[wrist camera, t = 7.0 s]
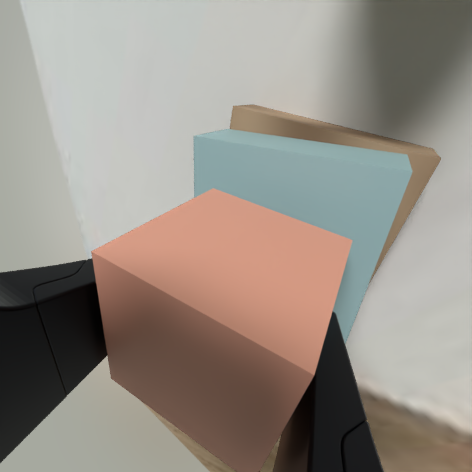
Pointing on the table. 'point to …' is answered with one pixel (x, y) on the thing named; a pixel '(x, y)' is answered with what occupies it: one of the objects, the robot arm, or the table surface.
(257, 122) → the tower base
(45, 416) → the robot arm
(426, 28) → the table surface
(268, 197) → the tower top
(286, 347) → the brick cube
